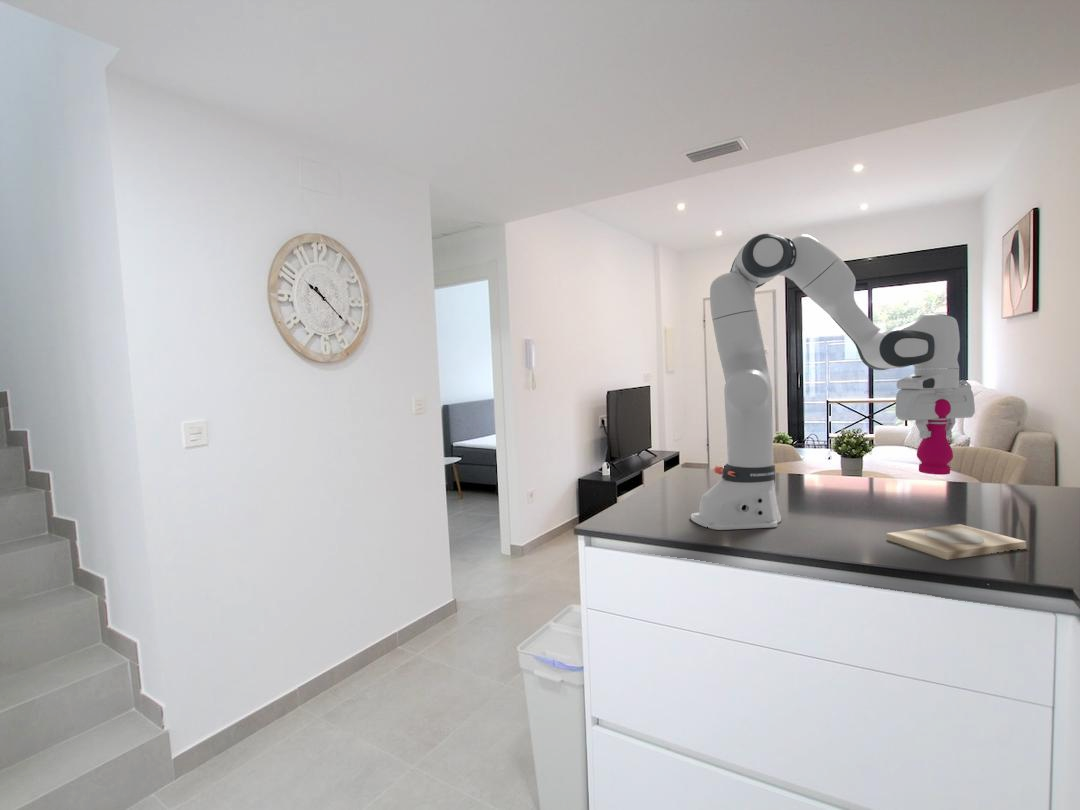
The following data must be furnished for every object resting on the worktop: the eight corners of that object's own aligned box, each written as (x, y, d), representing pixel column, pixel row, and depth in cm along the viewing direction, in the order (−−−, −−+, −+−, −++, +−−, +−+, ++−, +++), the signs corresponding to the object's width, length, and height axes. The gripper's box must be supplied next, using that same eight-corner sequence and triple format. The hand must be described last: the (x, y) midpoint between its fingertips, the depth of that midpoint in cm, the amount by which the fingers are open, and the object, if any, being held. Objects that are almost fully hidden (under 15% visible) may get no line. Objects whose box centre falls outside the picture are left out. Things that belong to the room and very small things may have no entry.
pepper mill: (958, 475, 130) (960, 391, 129) (924, 474, 132) (926, 391, 130) (943, 470, 137) (945, 390, 136) (911, 469, 139) (912, 390, 137)
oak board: (946, 559, 107) (946, 551, 107) (886, 539, 121) (886, 532, 121) (1026, 548, 111) (1026, 540, 111) (959, 530, 125) (959, 523, 125)
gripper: (958, 379, 138) (956, 434, 139) (890, 381, 134) (890, 438, 135) (983, 380, 132) (981, 436, 133) (913, 382, 128) (912, 441, 128)
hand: (935, 437), depth 134 cm, fingers closed on pepper mill, 5 cm apart
